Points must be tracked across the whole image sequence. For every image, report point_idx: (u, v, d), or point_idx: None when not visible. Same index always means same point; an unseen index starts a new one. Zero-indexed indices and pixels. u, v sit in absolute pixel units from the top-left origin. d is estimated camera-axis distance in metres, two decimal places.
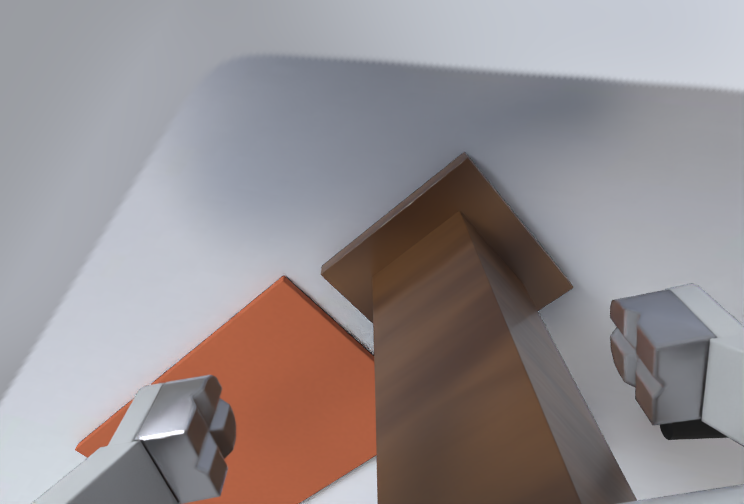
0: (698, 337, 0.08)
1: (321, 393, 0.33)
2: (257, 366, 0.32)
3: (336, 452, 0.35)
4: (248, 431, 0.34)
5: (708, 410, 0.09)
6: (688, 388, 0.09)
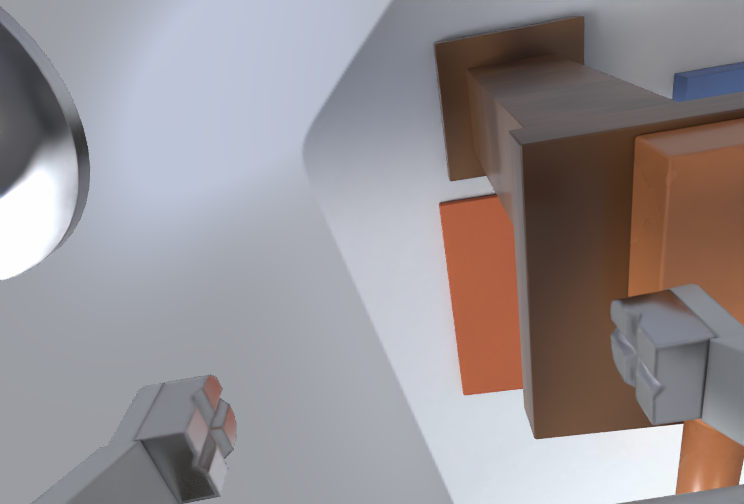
0: (698, 337, 0.08)
1: None
2: (486, 261, 0.43)
3: None
4: None
5: (708, 410, 0.09)
6: (687, 388, 0.09)
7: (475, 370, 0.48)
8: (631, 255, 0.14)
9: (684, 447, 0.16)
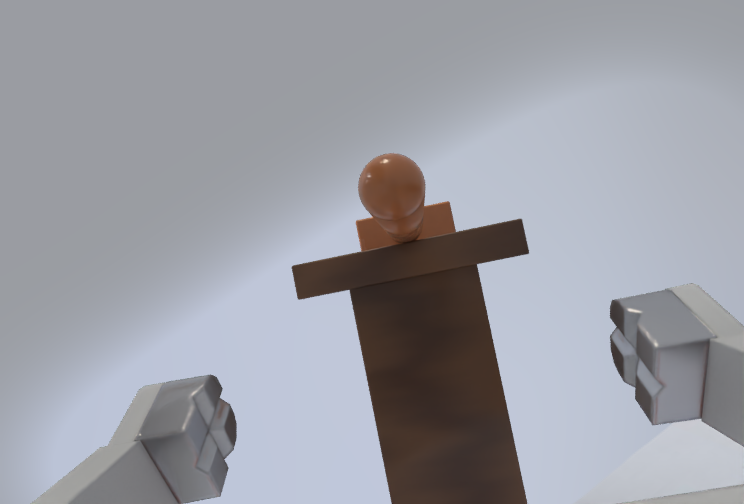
0: (698, 337, 0.08)
1: None
2: None
3: None
4: None
5: (708, 410, 0.09)
6: (687, 388, 0.09)
7: None
8: None
9: None
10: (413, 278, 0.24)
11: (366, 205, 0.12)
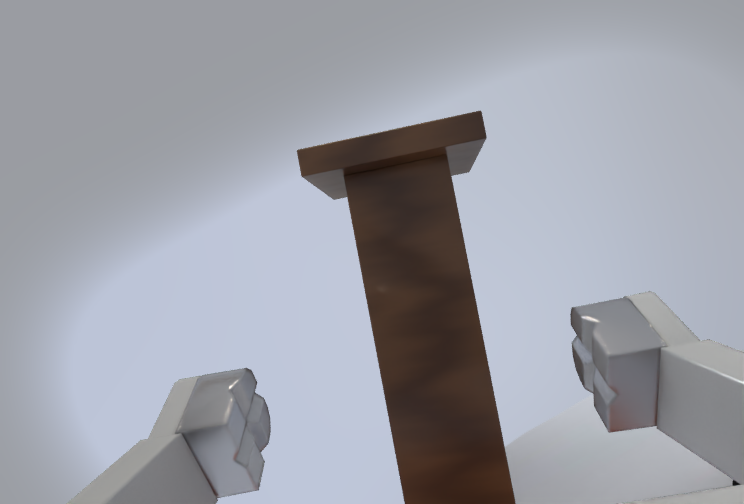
0: (650, 346, 0.08)
1: None
2: None
3: None
4: None
5: (662, 418, 0.09)
6: (641, 396, 0.09)
7: None
8: None
9: None
10: (395, 166, 0.29)
11: None
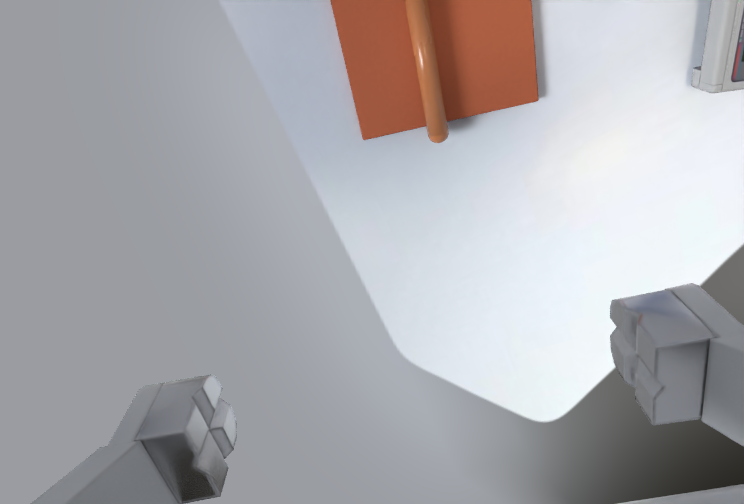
0: (698, 337, 0.08)
1: None
2: None
3: None
4: None
5: (708, 410, 0.09)
6: (687, 388, 0.09)
7: (372, 99, 0.40)
8: None
9: None
10: None
11: None
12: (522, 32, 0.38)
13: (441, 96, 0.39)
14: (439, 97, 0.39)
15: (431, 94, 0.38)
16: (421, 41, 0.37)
